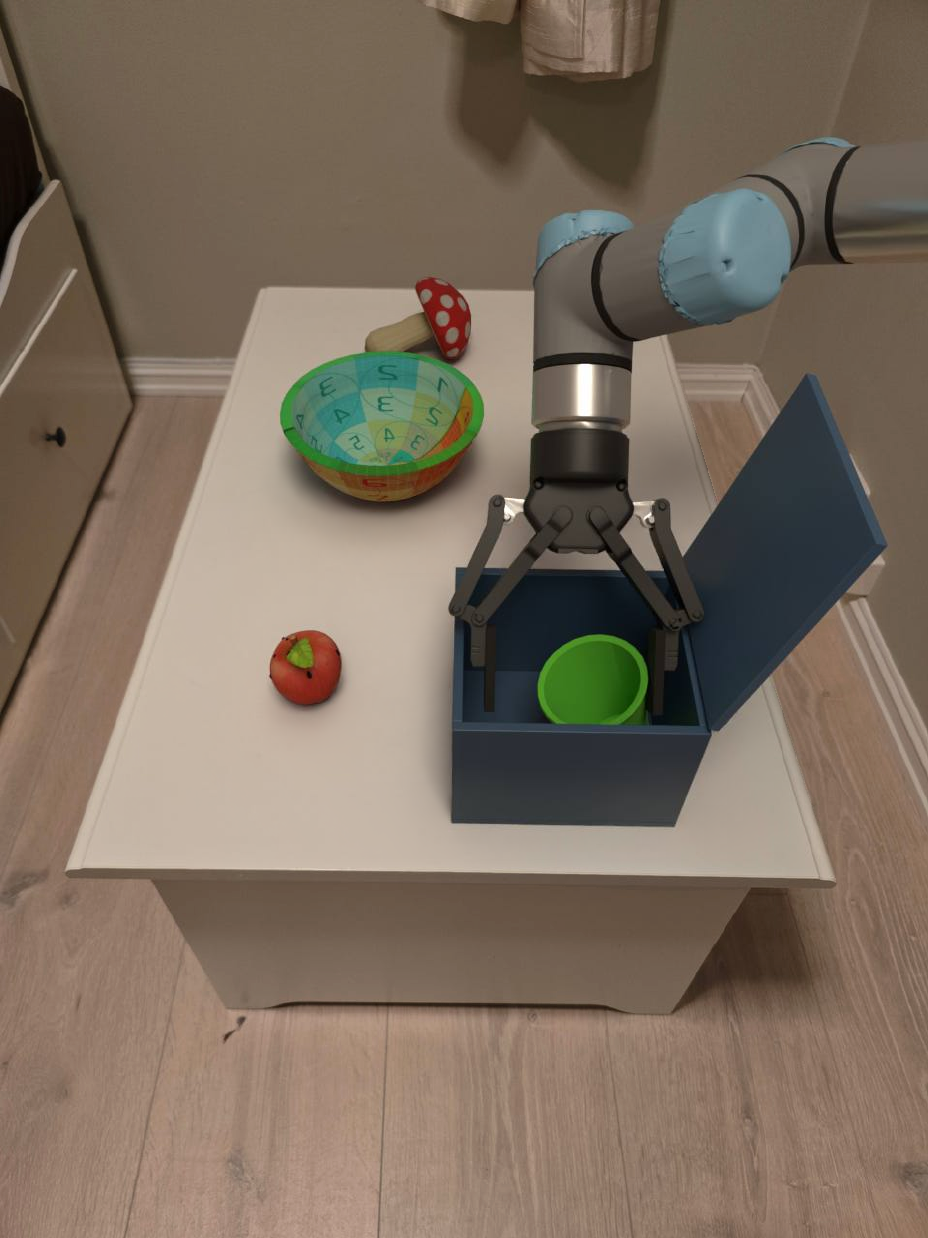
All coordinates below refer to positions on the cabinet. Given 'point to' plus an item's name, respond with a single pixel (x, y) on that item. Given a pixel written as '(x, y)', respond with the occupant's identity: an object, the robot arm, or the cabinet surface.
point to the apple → (306, 667)
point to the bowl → (382, 422)
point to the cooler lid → (777, 552)
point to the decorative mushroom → (428, 322)
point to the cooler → (569, 753)
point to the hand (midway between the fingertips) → (571, 711)
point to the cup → (594, 683)
